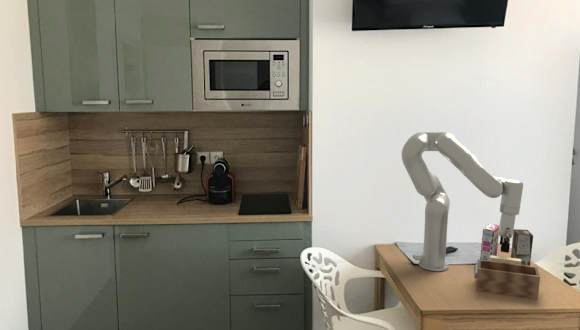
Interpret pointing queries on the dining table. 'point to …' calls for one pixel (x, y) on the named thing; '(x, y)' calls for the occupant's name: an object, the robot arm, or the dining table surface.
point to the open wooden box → (508, 279)
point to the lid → (501, 259)
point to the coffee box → (522, 246)
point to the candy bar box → (489, 241)
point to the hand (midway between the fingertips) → (504, 248)
